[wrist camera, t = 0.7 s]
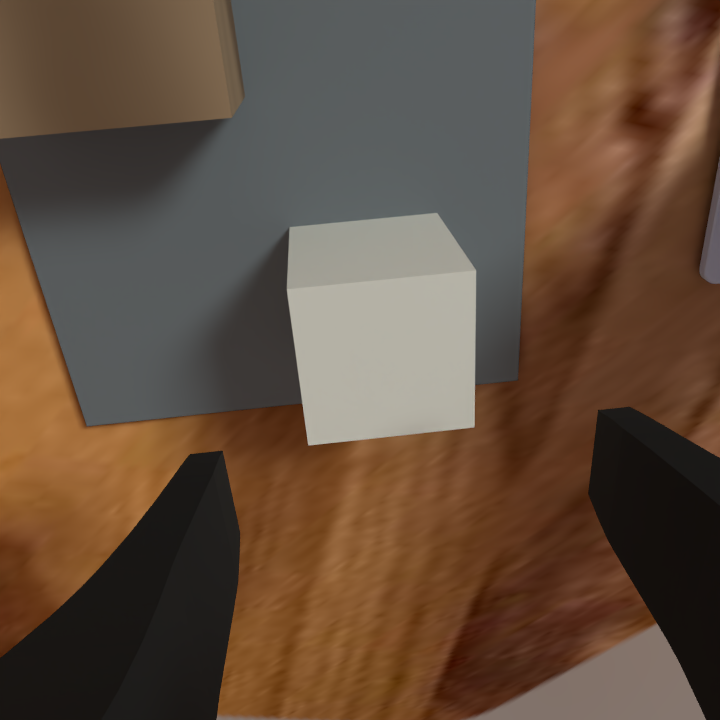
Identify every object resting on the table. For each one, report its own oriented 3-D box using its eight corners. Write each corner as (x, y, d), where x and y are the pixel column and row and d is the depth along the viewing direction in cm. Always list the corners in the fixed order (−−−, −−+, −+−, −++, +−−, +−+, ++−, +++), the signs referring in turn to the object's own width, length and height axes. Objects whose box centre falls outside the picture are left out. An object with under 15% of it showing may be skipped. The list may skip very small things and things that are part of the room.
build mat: (557, -595, 13) (564, -612, 12) (514, 374, 23) (517, 380, 23) (-226, -553, 12) (-242, -570, 12) (90, 419, 23) (86, 426, 22)
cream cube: (437, 212, 20) (476, 270, 16) (439, 344, 22) (474, 427, 18) (289, 227, 20) (286, 289, 15) (306, 358, 22) (307, 445, 17)
